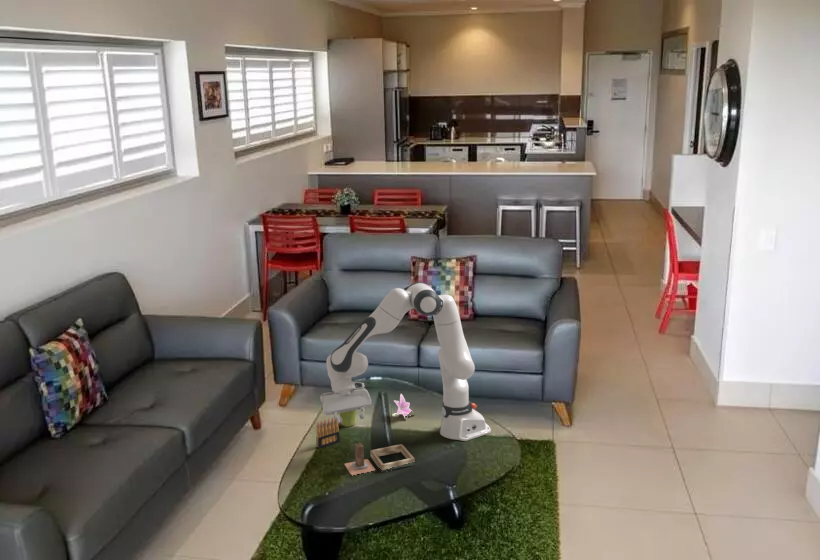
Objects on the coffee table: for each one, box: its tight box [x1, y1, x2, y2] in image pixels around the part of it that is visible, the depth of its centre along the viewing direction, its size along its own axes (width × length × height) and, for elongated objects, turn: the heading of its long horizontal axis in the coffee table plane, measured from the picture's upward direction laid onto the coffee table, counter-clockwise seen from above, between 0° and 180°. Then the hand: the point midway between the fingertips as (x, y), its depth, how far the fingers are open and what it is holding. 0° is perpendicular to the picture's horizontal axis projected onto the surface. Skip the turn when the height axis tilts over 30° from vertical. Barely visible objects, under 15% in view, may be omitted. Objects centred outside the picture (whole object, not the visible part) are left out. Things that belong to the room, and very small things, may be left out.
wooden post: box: [352, 442, 368, 471], centre depth 298 cm, size 5×5×10 cm
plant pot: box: [339, 410, 358, 428], centre depth 338 cm, size 9×9×9 cm
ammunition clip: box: [315, 416, 341, 449], centre depth 318 cm, size 11×2×12 cm, turn 126°
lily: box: [393, 393, 413, 419], centre depth 345 cm, size 12×12×10 cm
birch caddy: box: [370, 443, 416, 471], centre depth 304 cm, size 14×14×3 cm
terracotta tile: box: [344, 458, 376, 477], centre depth 299 cm, size 10×10×1 cm
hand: (351, 420), depth 304 cm, fingers open, 8 cm apart
